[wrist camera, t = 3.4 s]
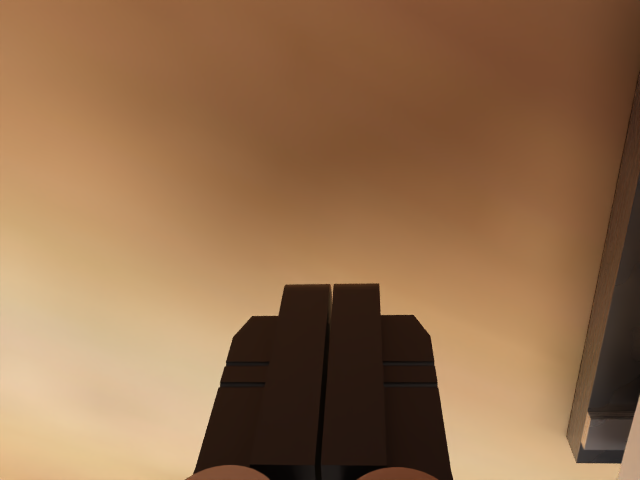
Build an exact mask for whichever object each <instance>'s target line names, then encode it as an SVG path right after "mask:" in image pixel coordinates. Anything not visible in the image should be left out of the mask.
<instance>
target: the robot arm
mask: <svg viewBox="0 0 640 480" xmlns="http://www.w3.org/2000/svg"><path fill="white" fill-rule="evenodd" d="M185 480H453V477H452V473H451V467H450V461H449V454H448V448H447V441H446V435H445V428H444V422H443V415H442V409H441V402H440V396H439V389H438V386H437V376H436V370H435V366H434V356H433V350H432V343H431V337H430V335H429V334H428V333H427V331H426V330H425V329H424V328H423V326H422V325H421V324H420V322H419V321H418V320H417V319H416V317H415V316H414V315H381V314H380V291H379V284H334V288H333V302H332V291H331V285H330V284H304V285H285V287H284V291H283V296H282V301H281V306H280V311H279V316H252V317H251V318H250V319H249V320H248V321H247V323H246V324H245V325H244V326H243V327H242V328H241V329H240V330H239V331H238V332H237V333H236V335H235V336H234V337H233V340H232V343H231V346H230V350H229V353H228V357H227V360H226V366H225V367H224V371H223V374H222V378H221V381H220V387H219V388H218V391H217V395H216V398H215V402H214V405H213V409H212V412H211V416H210V419H209V423H208V426H207V430H206V433H205V437H204V440H203V443H202V447H201V450H200V454H199V457H198V461H197V464H196V468H195V470H194V473H193V475H192V476H190V477H188V478H187V479H185Z"/></svg>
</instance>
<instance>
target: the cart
mask: <svg viewBox="0 0 640 480" xmlns="http://www.w3.org/2000/svg"><path fill="white" fill-rule="evenodd" d="M617 480H640V396H639V400H638V403H637V407H636V411H635V414H634V418H633V422H632V426H631V429H630V433H629V437H628V440H627V444H626V448H625V452H624V455H623V459H622V463H621V466H620V470H619V474H618V478H617Z"/></svg>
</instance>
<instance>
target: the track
mask: <svg viewBox="0 0 640 480" xmlns="http://www.w3.org/2000/svg"><path fill="white" fill-rule="evenodd" d="M639 396H640V72H639V77H638V82H637V87H636V92H635V97H634V102H633V107H632V112H631V117H630V122H629V127H628V132H627V137H626V142H625V147H624V152H623V157H622V162H621V167H620V172H619V177H618V182H617V187H616V192H615V197H614V202H613V207H612V212H611V217H610V222H609V227H608V232H607V237H606V242H605V247H604V252H603V257H602V262H601V267H600V272H599V277H598V282H597V287H596V292H595V297H594V302H593V307H592V312H591V317H590V322H589V327H588V332H587V337H586V342H585V347H584V352H583V357H582V362H581V367H580V372H579V377H578V382H577V387H576V392H575V397H574V402H573V407H572V412H571V417H570V422H569V427H568V432H567V439H568V442H569V445H570V448H571V450H572V453H573V456H574V458H575V461H576V463H622V459H623V455H624V452H625V448H626V444H627V440H628V437H629V433H630V429H631V426H632V422H633V418H634V414H635V411H636V407H637V403H638V400H639Z"/></svg>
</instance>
